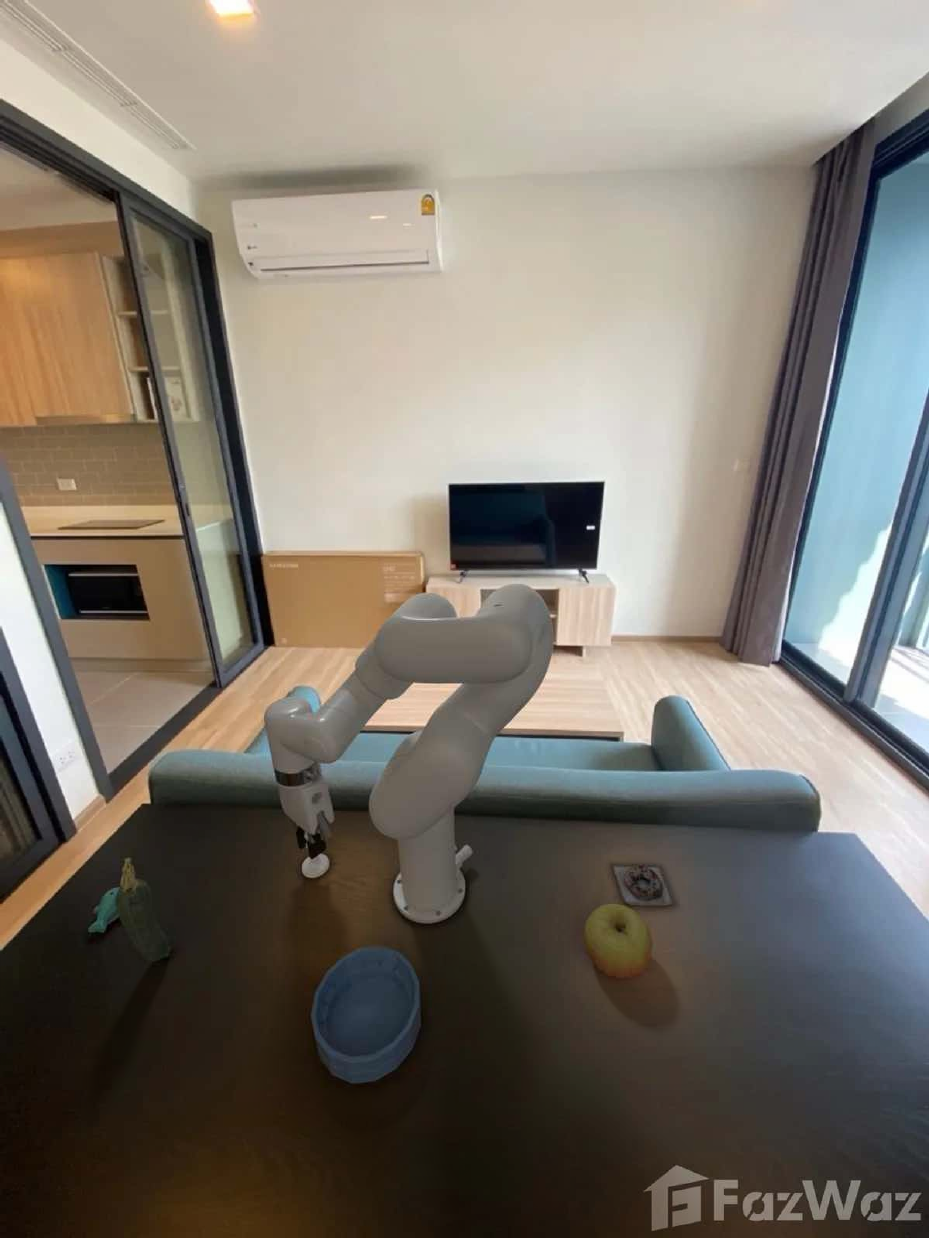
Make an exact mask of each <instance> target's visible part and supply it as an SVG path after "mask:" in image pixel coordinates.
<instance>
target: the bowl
mask: <svg viewBox="0 0 929 1238" xmlns="http://www.w3.org/2000/svg"><path fill="white" fill-rule="evenodd" d="M316 988H317V989H316V990H315V993H314V996H313V1001H312V1006H311V1007H312V1008H311V1013H310V1019H311V1025H312V1028H313V1034H314V1039H315V1043H316V1047H317V1053H318V1057H319V1060H320V1061H321V1062H322V1064H323V1065H324V1066H325V1067H326V1069H327V1070H328V1071H329V1073H330V1074H331V1076H333V1077H336V1078H338V1079H340V1080H343V1081H346V1082H348V1083H350V1084H363V1083H373V1082H377V1081H379V1080H380V1079H381V1078H384V1077H385V1076H387V1075H389V1074H390V1073H392V1072H393V1071H395V1070H396V1069H398V1068H399V1066H400V1065H401V1064H402V1063H403V1062H404V1060H405V1059H406V1058H407V1056H408V1055H409V1054H410V1053H411V1051H412V1050H413V1049H414V1047H415V1043H416V1040H417V1038H418V1035H419V1032H420V1029H421V1026H422V999H421V987H420V981H419V978H418V976H417V973H416V971H415V969H414V966H413V964H412V963H411V962H410V961H409V960H408V959H407V958H406V957H405V956H404V955H403V954H402V953H401V952H400V951H397V950H395V949H392V948H388V947H385V946H383V945H377V946H365V947H361V948H359V949H356V950H353V951H352V952H350V953H347V954H346V955H343V956H342V957H341V958H340V959H339V960H338V961H336V962H335V963H334V964H333V965H332V966H331V967H330V968H329V969H328V970H327V971H326V972H325V974H324V976H323V978H322V980H321V981H320V983H319V985H318V986H317V987H316Z"/></svg>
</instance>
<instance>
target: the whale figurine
mask: <svg viewBox="0 0 929 1238" xmlns="http://www.w3.org/2000/svg"><path fill="white" fill-rule="evenodd" d="M120 887H121V886H117V887H114V888H111V889H109V890H108V891H106V892H105V893H104V895H102V897H101V899H100V902H99V904H98V905H96V907H94V909H93V914H94V915H97V916H96V920H95V921H94V922H93V923H92V924H90V926H89V927H88V930H87V931H88V933H96V932H98V933H105V932H106V931H107V928H108V926H109V925H111V923H114V921H116V920H117V919H118V918H119V915H118V912H117V909H116V904H115V899H116V895H117V892H118V890H119V888H120Z"/></svg>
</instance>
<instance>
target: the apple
mask: <svg viewBox="0 0 929 1238" xmlns="http://www.w3.org/2000/svg"><path fill="white" fill-rule="evenodd" d="M583 933H584V934H583V943H584V947H585V950H586V953H587V954H586V955H588V957H589V958H590V960H591V961H592V963H593V964H594V965H595V967H596V968H597V969H599V970H600V971H601V972H602V973H603V974H605V975H606V976H608V977H612V978H614V979H617V980H619V979H620V980H623V979H624V980H625V979H626V980H630V979H631V978H634V977H637V976H638V975H640V974H642V973H643V972H644V971H645V970H646V968H647V967H648V965H649V964H650V962H651V957H652V952H653V939H652V934H651V931H650V929H649V927H648V926H647V924H646V922H645V920H644V919H643V917H642V916H641V915H639V914H638V913H637V912H636V911H635V910H633V909H631V908H629V907H627V906H626V905H624V904H618V903H614V902H613V903H606V904H602V905H600V906H599V907H597V908H596V909H595V910H593V911H592V912H591V913H590V914H589V916H588V918H587V920H586V921H585V925H584V932H583Z"/></svg>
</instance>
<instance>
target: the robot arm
mask: <svg viewBox="0 0 929 1238" xmlns="http://www.w3.org/2000/svg"><path fill="white" fill-rule="evenodd" d="M554 640H555V632H554V624H553V620H552V616H551V613H550V611H549V608H548V605H547V604H546V602H545V600H544V598H543V597H542V596H541V595H540V594H539V593H538V591H537V590H535V589H534V588H532V587H531V586H529V585H527V584H523V583H509V584H506V585H503V586H501V587H499V588H497V589H495V590H494V591H493V592H491V593H490V594H489V595H488V596H487V597H486V599H485V600H484V601H483V603H482V604H481V606H480V607H479V608H478V610H477V612H476V613H475V615H474V616H461V617H460V616H459V617H458V613H457V612H456V610H455V607H454V606H453V604H452V602H450V601H449V600H448V599H447V598H446V597H445V596H442V595H440V594H438V593H435V592H421V593H418V594H415V595H413V596H411V597H409V598H407V600H406V601H404V602H403V603H402V604H401V605H400V606H399V607H398V608H397V609H396V610H395V611H394V612H393V613H391V615H390V616H389V617H388V618H387V619H385V621H384V622H383V623H382V624H381V626H380V627H379V629H378V630H377V632H376V635H375V637H374V638H373V639H372V640H371V641H370V643H369V644H368V645H367V646H366V647H365V648H364V650H362V652H361V653H359V655H358V656H357V658H356V659H355V660H356V661H355V663H354V670H353V671H352V673H351V674H349V676H348V677H347V678H346V679H345V680H344V682H343V683H342V684H341V686H339V687H338V688H337V690H336V691H335V692H333V694H332V695H331V696H330V697H329V698H328V699H327V700H326V701H325V702H324V703H323V704H322V705H321V706H320V708H319V709H317V710H316V711H314V710H313V707H312V705H311V703H310V702H309V701H308V700H307V699H305V698H303V697H299V696H287V697H283V698H280V699H277V700H275V701H273V702H271V704H269V705H268V706H267V707H266V709H265V710H264V713H263V721H264V722H263V723H264V728H265V732H266V738H267V743H268V747H269V752H270V758H271V762H272V767H273V773H274V777H275V782H276V784H277V788H278V795H279V800H280V804H281V808H282V810H283V812H284V813H285V815H286V816H287V817H289V818H290V819H291V821H292V827H293V829H294V830H295V836H296V842H297V846H298V848H299V849H300V850H303V849H305V848H306V843H307V847H308V849H307V851H308V857H310V858H311V859H314V858H315V857H317V856H318V855H319V854H323V853H324V852H325V851H326V849H327V844H326V842H327V841H328V840H329V839H330V838H331V837H333V836H332V832H331V830H330V827H329V826H328V824H327V823H329V824H332V823H334V822H335V814H334V809H333V803H332V799H331V796H330V792H329V789H328V785H327V783H326V780H325V777H324V775H323V774H322V772H323V768H322V765H323V764H324V765H330V764H334V763H335V762H337V761H338V760H339V759H341V757H343V756H344V755H345V753H346V752H347V750H348V749H349V747H350V746H351V744H352V743H353V742H354V740H355V739H356V738H357V736H358V735H359V734H360V733H361V731H362V730H363V728H364V727H365V726H366V725H367V723H369V721H370V720H371V719H372V717H373V716H374V715H375V714H376V713H377V712H378V711H379V709H381V708H382V707H383V705H384V704H385V703H386V702H387V701H388V700H396V699H398V698H400V697H401V696H402V695H404V694H405V692H406V691H407V690H408V689H409V688H410V687H412V685H413V684H436V685H438V684H439V685H441V684H443V685H445V684H446V685H449V684H451V685H453V684H455V685H457V684H460V685H459V686H458V687H457V688H456V689H455V691H454V692H453V693H452V694H451V695H450V696H449V697H447V698H446V699H445V700H444V701H443V702H442V703H441V704H440V705H439V706H438V707H437V708H436V709H435V710H434V711H433V712H432V714H431V715H430V717H429V719H428V720H427V722H426V724H425V726H424V728H423V729H421V730H417V731H413V732H412V733H411V734H409V735H408V736H406V737H405V738H404V739H403V740H402V741H401V742H400V744H399V745H398V747H397V748H396V749H395V751H394V753H393V754H392V756H391V757H390V759H389V761H388V763H387V764H386V766H385V768H384V770H383V771H382V773H381V775H380V776H379V778H378V780H377V781H376V783H375V785H374V787H372V788H373V789H372V790H371V791H370V792H371V793H370V795H369V799H368V814H369V817H370V820H371V822H372V824H373V826H374V827H375V828H376V829H377V831H379V832H380V833H381V834H382V835H383V836H385V837H387V838H389V839H393V840H397V851H398V859H399V869H400V870H399V871H400V872H398V875H397V876H396V878H395V880H394V883H393V889H392V890H393V892H392V893H393V900H394V905H395V906H396V908H397V910H398V911H399V913H400V914H402V915H403V916H404V917H405V918H406V919H408V920H410V921H412V922H415V923H419V924H434V923H439V922H442V921H444V920H446V919H448V918H449V917H451V916H452V915H453V914H454V913H456V912H457V911H458V910H459V908H460V907H461V905H462V904H463V901H464V899H465V895H466V880H465V877H464V875H463V872H462V871H461V868H462V867H463V863H464V862H465V861H467V859H468V858H469V857H471V856H472V855H473V853H474V852H473V848H472V847H471V846H469V845H468V844H465V845H464V846H463V847H461V849H460V850H458V847H457V845H456V835H455V833H456V832H455V808H456V807H457V806H458V805H459V804H460V803H462V802H463V800H465V799H466V797H467V796H468V795H470V793H471V792H472V790H473V789H474V788H475V786H476V784H477V783H478V781H479V780H480V777H481V774H482V772H483V769H484V766H485V763H486V760H487V758H488V754H489V752H490V750H491V746H492V744H493V742H494V740H495V739H496V737H497V736H498V735H499V734H500V733H501V731H502V730H504V729H505V727H506V726H507V725H508V724H509V723H511V721H512V720H513V719H515V717H516V716H517V715H518V714H519V713H520V711H522V709H523V708H525V706H526V705H527V704H528V703H529V702H530V701H531V700H532V698H533V697H534V696H535V694H536V693H537V692H538V690H539V689H540V687H541V686H542V683H543V682H544V679H545V677H546V675H547V672H548V669H549V668H550V667H549V666H550V663H551V660H552V657H553V652H554V651H553V650H554V645H555V644H554ZM317 829H318V831H316V830H317ZM305 831H306V832H307V836H308V841H307V840H306V839H305V837H304V834H305ZM315 832H316V833H315ZM457 850H458V852H457V853H456V851H457Z"/></svg>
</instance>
